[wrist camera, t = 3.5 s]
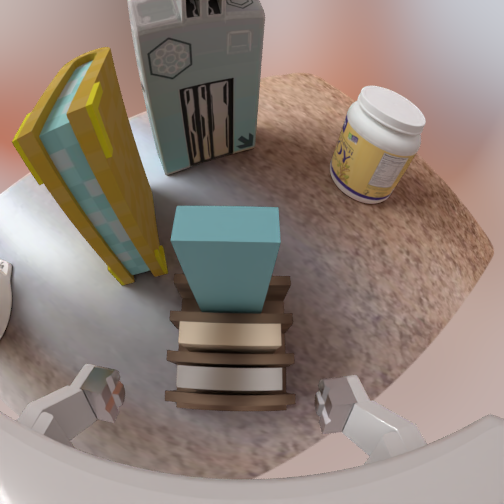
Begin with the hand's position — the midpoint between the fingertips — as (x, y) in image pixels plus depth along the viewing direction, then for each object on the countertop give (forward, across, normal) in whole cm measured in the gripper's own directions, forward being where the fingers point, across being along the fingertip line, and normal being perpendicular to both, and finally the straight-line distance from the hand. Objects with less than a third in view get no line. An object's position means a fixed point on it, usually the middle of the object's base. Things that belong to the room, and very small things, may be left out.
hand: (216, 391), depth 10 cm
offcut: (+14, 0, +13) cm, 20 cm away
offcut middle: (+17, 0, +10) cm, 20 cm away
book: (+30, +14, 0) cm, 33 cm away
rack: (+19, 0, +11) cm, 22 cm away
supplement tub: (+38, -22, -8) cm, 45 cm away
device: (+42, +6, -12) cm, 44 cm away
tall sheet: (+20, 0, +8) cm, 21 cm away
